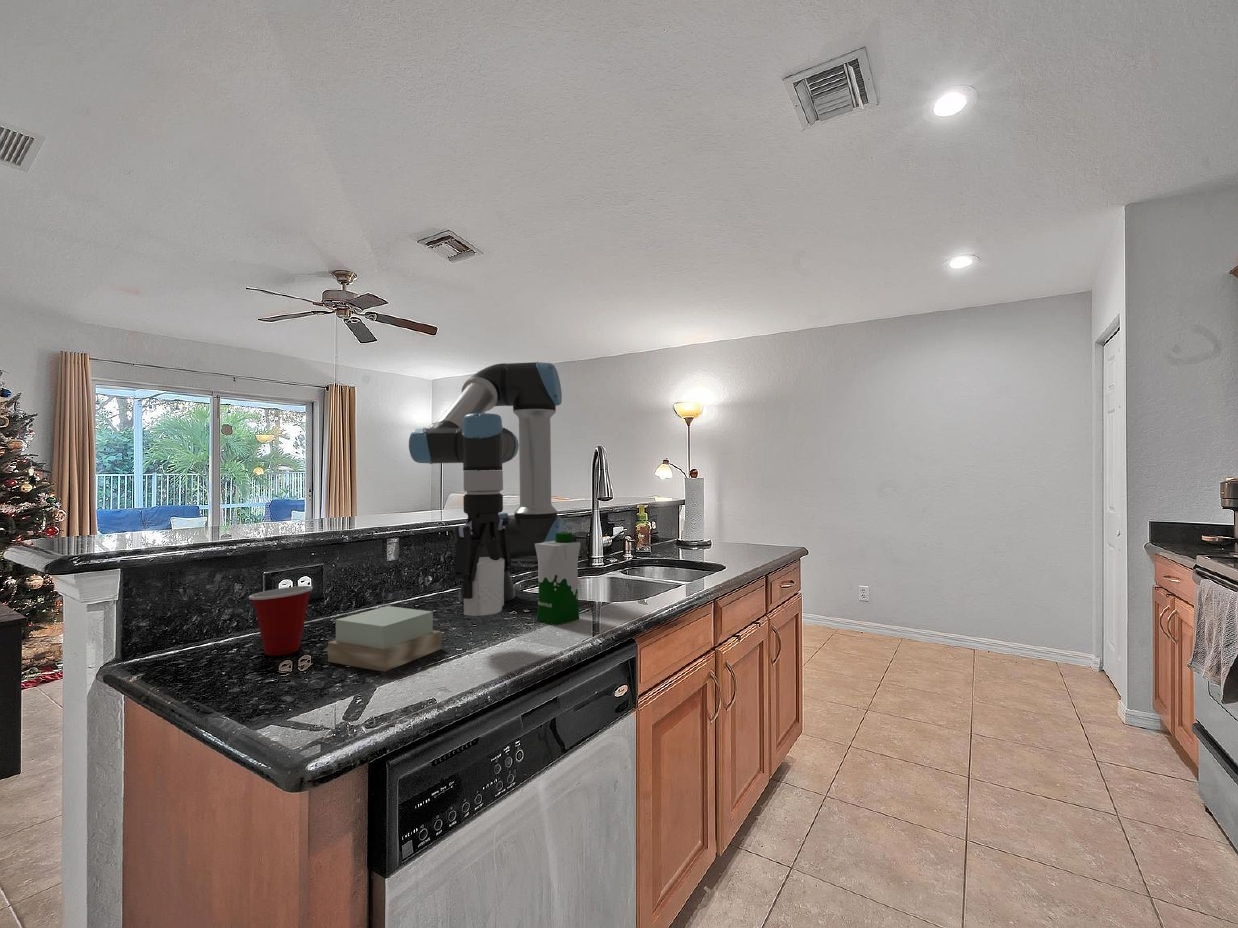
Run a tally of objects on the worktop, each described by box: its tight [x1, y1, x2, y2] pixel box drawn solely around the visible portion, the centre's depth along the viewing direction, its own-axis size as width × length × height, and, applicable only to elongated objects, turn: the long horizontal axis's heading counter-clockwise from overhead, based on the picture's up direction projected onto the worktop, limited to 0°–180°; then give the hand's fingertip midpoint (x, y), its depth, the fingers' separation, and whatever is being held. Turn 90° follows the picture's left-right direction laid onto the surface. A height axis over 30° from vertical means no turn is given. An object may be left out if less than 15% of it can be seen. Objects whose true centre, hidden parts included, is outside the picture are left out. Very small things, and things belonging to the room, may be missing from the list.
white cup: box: [474, 557, 504, 616], centre depth 111 cm, size 8×8×10 cm
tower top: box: [335, 605, 434, 649], centre depth 107 cm, size 12×12×4 cm
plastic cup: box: [248, 585, 313, 657], centre depth 110 cm, size 11×11×12 cm
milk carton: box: [535, 532, 581, 626], centre depth 132 cm, size 9×9×20 cm
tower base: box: [327, 629, 442, 672], centre depth 107 cm, size 14×14×4 cm
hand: (484, 609), depth 111 cm, fingers closed on white cup, 7 cm apart
